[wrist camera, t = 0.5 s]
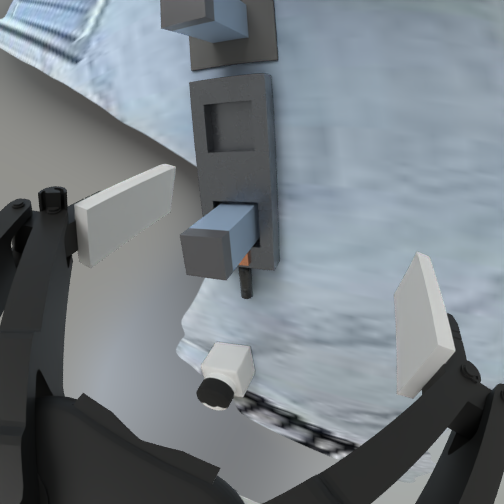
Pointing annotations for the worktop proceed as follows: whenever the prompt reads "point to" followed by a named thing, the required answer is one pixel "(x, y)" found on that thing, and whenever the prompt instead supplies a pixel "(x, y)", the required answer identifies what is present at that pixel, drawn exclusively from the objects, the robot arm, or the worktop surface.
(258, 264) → the strip
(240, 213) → the twin plug
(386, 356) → the worktop surface
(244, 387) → the medicine bottle
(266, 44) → the mat
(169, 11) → the plug
